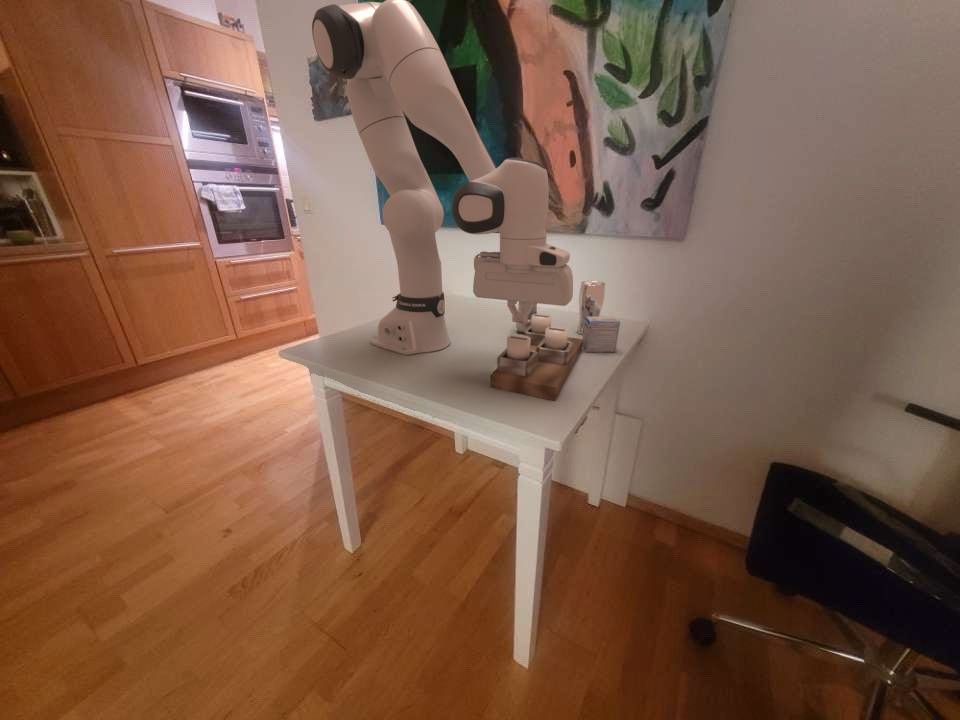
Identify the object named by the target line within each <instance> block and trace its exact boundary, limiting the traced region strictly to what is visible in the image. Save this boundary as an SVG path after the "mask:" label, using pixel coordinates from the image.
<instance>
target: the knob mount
mask: <svg viewBox="0 0 960 720" xmlns="http://www.w3.org/2000/svg"><path fill="white" fill-rule="evenodd" d="M522 335H525V336H528V337H530V338H531V343H530V357H529V358H528V359H526V360H515V359H509V358H508V357H507V347H506V348H505V349H504V350H503V351H502V352H501V353H500V354H499V355H498V356H497V357H496V361H497V363H496V369H495V370H494V371H492V372H491V373H490V374H489V375H490V376H489V379H490V380H489V384H490V385H489V387H490V388H491V389H496V390H501V391H505V392H510V393H514V394H520V395H525V396H530V397H534V398H539V399H543V400H549V401H554V402H555V401H557V398H558V396H559V394H560V392H561V390H562V388H563V387H564V385H565V382H566V381H567V379H568V377H569V375H570V373H571V371H572V369H573V368H572V367H574V365H575V363H576V362H577V360H578V358H579V356H580V354H581V352H582V350H583V347H582V344H583V338H578V337H577V338H575V337H570V336H567V347H566V349H563V350H555V349H549V348H546V347H545V346H544V345H545V334H538V333H532V332H531V325H530V326H529V327H528V328H527V329H526V330H525V331H524V333H522Z"/></svg>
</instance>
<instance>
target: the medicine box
mask: <svg viewBox="0 0 960 720" xmlns="http://www.w3.org/2000/svg"><path fill="white" fill-rule="evenodd" d="M620 325H621V321H620V320H619V319H618V318H617V317H615V316H611V315H610V316H609V315H608V316H599V317H585V323H584V332H583V335H582V339H583V344H582V349H583V348H584V349H583V350H584V352H585V353H612V352H613V353H614V352H616V350H617V344H618V337H619V331H620Z"/></svg>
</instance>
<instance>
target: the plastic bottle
mask: <svg viewBox="0 0 960 720" xmlns="http://www.w3.org/2000/svg"><path fill="white" fill-rule="evenodd" d="M517 304H518V308H517V311H518V312H521V313H524V312H525V311H526V309H527V307H525V302H519V301H518V302H517ZM537 307H538V303H534V306H533V308H532V309H531V311H530V312H529V314H528V322H527V323H519V322H515V328H516V330H517V331H518V332H519V333H522V334H523V333H524V331H525V330H526V329H527V328H528V327H529V326H530V325H531V321H532V315H534V314H538V308H537Z"/></svg>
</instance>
